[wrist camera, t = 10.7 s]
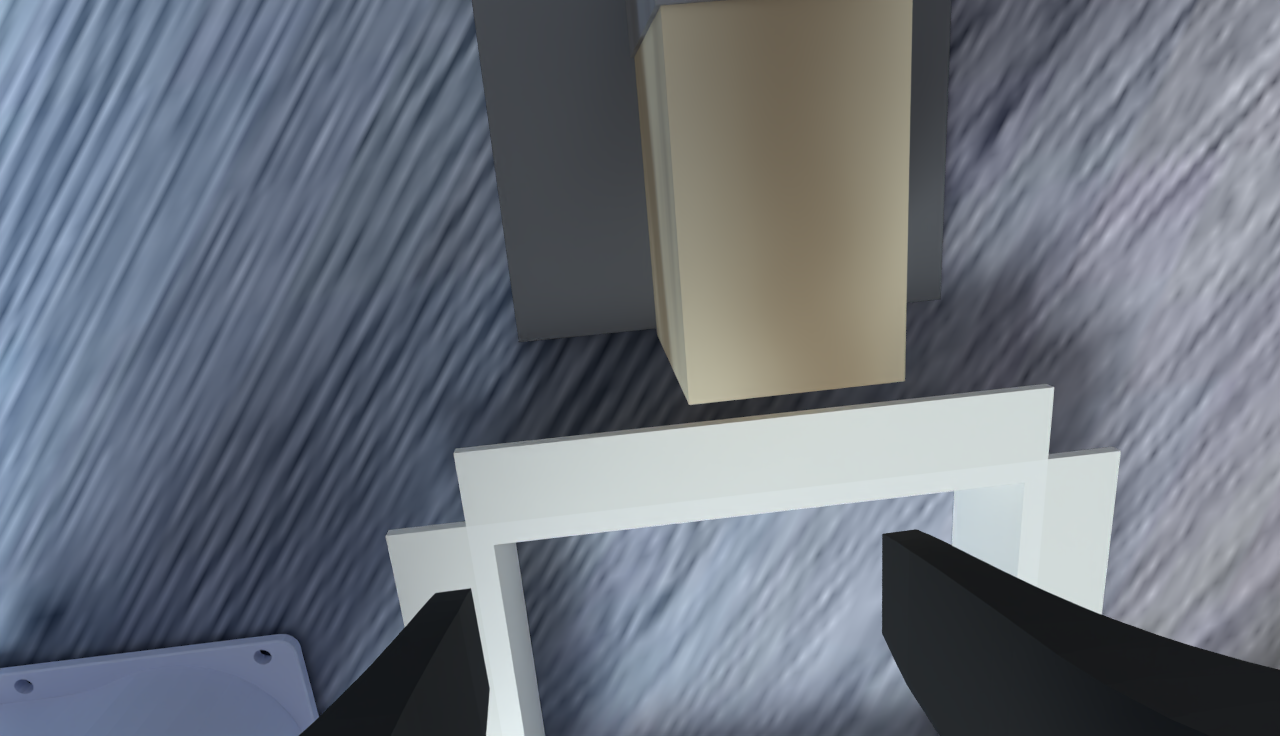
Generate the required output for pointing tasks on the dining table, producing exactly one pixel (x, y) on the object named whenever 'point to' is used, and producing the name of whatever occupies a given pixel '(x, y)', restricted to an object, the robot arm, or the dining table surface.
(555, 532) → the white flat frame
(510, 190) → the rubber mat
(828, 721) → the dining table surface
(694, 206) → the birch block
